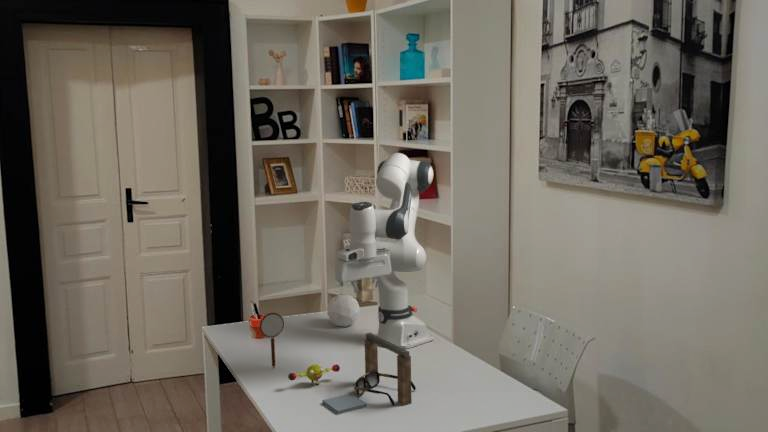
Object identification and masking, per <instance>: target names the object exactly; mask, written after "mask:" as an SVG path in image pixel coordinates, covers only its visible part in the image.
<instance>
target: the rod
mask: <svg viewBox="0 0 768 432" xmlns="http://www.w3.org/2000/svg"><path fill="white" fill-rule="evenodd" d="M365 339H368V340H370V341H372V342H374V343H376V344H377V346H380V347H382V348H384V349H386V350H389V351H390V352H393V353H394V354H397V355H400V356H402V357H404V358H406V357H409V356H410V351H408V350H407V349H404V348H400V347H398V346H396V345H394V344H392V343H390V342H388V341H386V340H384V339H382V338H380V337H378V336H377V335H375V334H373V333H372V332H368V333H366V334H365Z"/></svg>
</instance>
